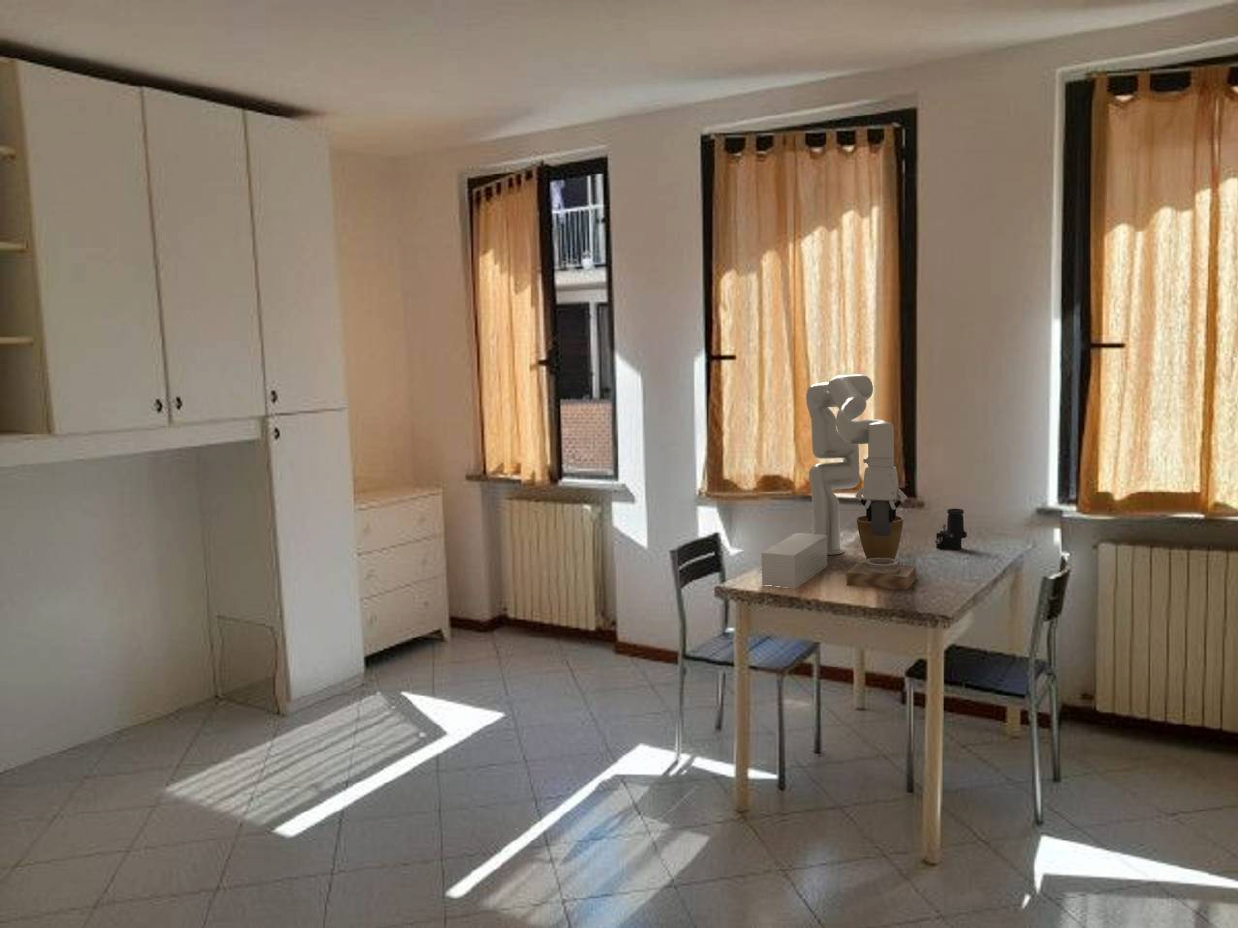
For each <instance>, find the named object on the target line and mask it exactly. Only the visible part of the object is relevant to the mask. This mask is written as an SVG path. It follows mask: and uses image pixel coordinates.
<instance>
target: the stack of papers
mask: <svg viewBox="0 0 1238 928" xmlns="http://www.w3.org/2000/svg"><path fill="white" fill-rule="evenodd" d="M826 546H827V535H821V534H812V533H805V532H804V533H803V532H801V533H800V532H795V533H793V534H792V535H790V536H788V537H787V538H785V539H783V540H781V541H779V542H778V543H776V544H774V545H772V546H771V547H769V548H768V549H767V548H766V550H764V551H762V552H761V553H760V555H761V586H762V585H772V586H780V587H788V588H796V589H797V588H798V586H799V587H800V586H802V585H803V584H804V583H806V582H807V581H809V580H810V579H811V578H813V577H814V576H815V575H817V574H819V572H821V571H823V570H824V569H825V568H826V567H828V555H827V547H826ZM801 584H802V585H801ZM788 588H787V589H788Z"/></svg>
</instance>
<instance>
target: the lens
mask: <svg viewBox="0 0 1238 928" xmlns="http://www.w3.org/2000/svg"><path fill="white" fill-rule="evenodd" d="M890 509H891V505H890V503H889V501H880V500H873V501H871V534H872V535H876V536H888V535H891V522H890Z"/></svg>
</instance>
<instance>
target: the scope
mask: <svg viewBox="0 0 1238 928" xmlns="http://www.w3.org/2000/svg"><path fill="white" fill-rule="evenodd" d="M946 512H947V520H946V521H947V523H946V524H945V523H943V524H942V530H939V532H936V533H935V534H936V535H935V536H936V537H935V538H936V539H935V540H934V543H935V544H936V549H944V550H951V551H959V550H962V539H966V538H967V537H968V535H967V534H968V533H967V531H965V527H964V525H965V524H964V514H965V511H964V509H962V508H948V509H947V510H946Z"/></svg>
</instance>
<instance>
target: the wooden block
mask: <svg viewBox="0 0 1238 928" xmlns="http://www.w3.org/2000/svg"><path fill="white" fill-rule="evenodd" d="M900 562H901V561H900V560H897V559H896V558H895V559H892V558H879V557H878V558H870V559H866V558H865V560H864V561H863V562H859V561H858V562H856V563H855V564H854V565H853V566H852V567H851V568H849V570H847V572H846V586H850V587H851V586H853V587H865V588H866V587H867V588H877V589H878V588H879V589H889V590H902V591H908V590H909V589H910V587H911V586H912V585H913V583H914V582H915V581H916V577H917V566H915V565H902V564H901V563H900ZM900 564H901V565H900Z"/></svg>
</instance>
